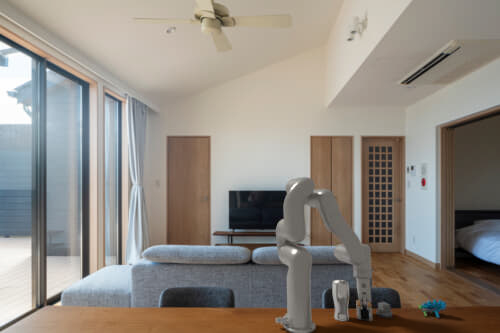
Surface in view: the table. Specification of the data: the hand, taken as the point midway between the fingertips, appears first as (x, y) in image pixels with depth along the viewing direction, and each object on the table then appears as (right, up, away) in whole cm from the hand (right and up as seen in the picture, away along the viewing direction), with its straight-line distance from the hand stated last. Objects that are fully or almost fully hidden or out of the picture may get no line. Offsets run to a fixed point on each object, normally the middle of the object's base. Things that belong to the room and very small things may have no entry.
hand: (364, 316), depth 124 cm
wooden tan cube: (0, -1, 0) cm, 1 cm away
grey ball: (+10, -1, +2) cm, 10 cm away
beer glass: (-10, -1, -1) cm, 10 cm away
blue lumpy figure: (+31, -1, +2) cm, 31 cm away
